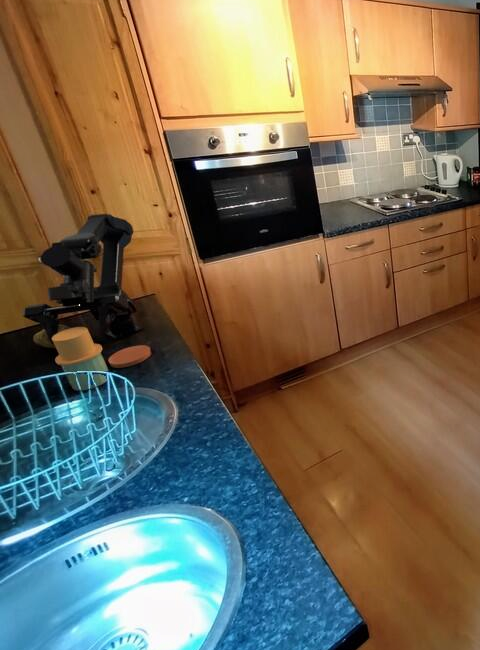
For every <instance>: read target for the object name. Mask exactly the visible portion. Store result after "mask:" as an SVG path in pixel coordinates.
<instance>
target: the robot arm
mask: <svg viewBox="0 0 480 650" xmlns="http://www.w3.org/2000/svg"><path fill="white" fill-rule="evenodd" d="M133 235H134V228H133V225H132V224H131V223H130V222H128V221H127V219H124V218H121V217H116V216H113V215H112V214H111V213H98V214H97V213H96V214H90V215H88V216H87V221H86V222H85V223H84V224H83V225H82V226H81V228H80V229H79V230H78V231H77V233H76V234H73V235H72V234H71V235H70V236H66V237H64V238H62V239H61V240H60V241H57V242H51V246H50V247H48V248H47V249H45V250H43V252H42V253H41V255H40V257H39V259H40V263H42V264H43V265H44V266H45V267H47V268H49V269H50V270H51V271H53V272H54V273H56V274H58V275H60V276H63V282H60V284H59V286H52V287H47V295H48V300H49V302H52V301H55V302H56V304H58V305H60V306H51V305H50V304H47V303H39V304H31V305H27V306H26V307H24V309H23V310H22V317H23V318H25V319H27V320H30V321H32V322H34V323H37V324H39V325H41V327H42V329H44V330H45V332H46V334H47V336H48V338H49V340H50V342H51V344H53V345H54V343H53V340H52V337H53V336H54V335H55V334H57V333H58V328H59V325H60V320H57V319H58V318H59V315H64V314H70V313H78V312H84V311H89V312H90V313H91V315H92V316H93V318H94V319H95V320H96V321H98V328H97V330H98V332H97V333H98V337H100V338H103V337H104V336H105V334H106V335H107V336H108V337H110V338H112V339H114V340H120V339H123V338H125V337H128V336H130V335H132V334H135V333H137V332H140V331H142V327H140V326H137V325H135V322H134V319H133V317H132V315H133V314H135V313H137V312H138V309H137V304H136V301H135V300H133V299H132V298H130V297H129V295H128V294H127V292H126V291H125V290H124V289H123V288H122V286H123V285H122V283H123V269H124V253H125V252H124V250H125V248H126V247H127V246H128V245H129V244H130V243H131V242H132V236H133ZM101 243H102V245H101ZM101 252H102V255H101V268H100V279H99V285H98V286H95V273H96V272H98V270H97V268H96V266H95V265H94V264H93V263H92V262H90V261H89V260H91V259H97V258H98V257H99V255H100V253H101ZM108 329H109V331H108Z"/></svg>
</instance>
